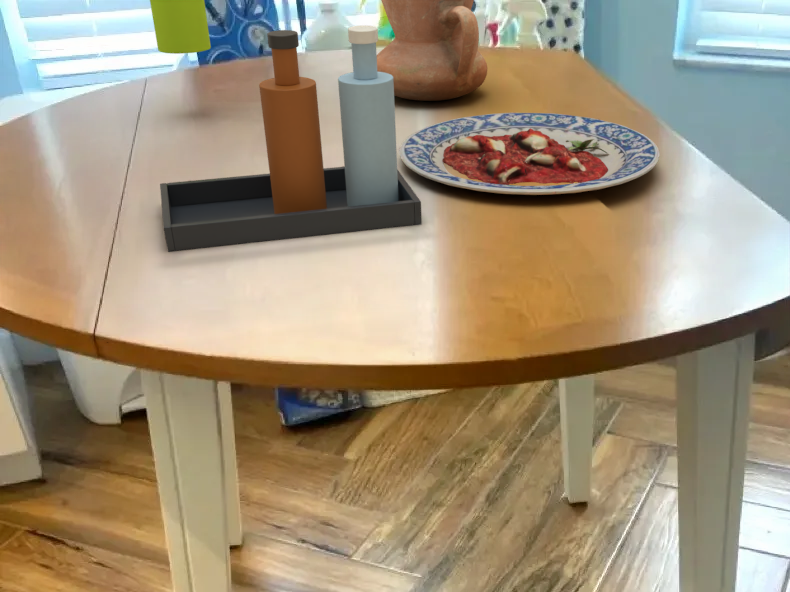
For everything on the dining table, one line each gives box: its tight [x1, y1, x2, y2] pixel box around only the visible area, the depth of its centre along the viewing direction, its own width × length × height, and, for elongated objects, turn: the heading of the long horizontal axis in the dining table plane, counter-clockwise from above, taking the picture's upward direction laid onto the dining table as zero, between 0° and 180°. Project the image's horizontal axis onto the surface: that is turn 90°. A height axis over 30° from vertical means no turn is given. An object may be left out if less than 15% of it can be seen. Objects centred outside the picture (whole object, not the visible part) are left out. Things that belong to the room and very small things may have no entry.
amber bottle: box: [258, 29, 327, 214], centre depth 80 cm, size 5×5×15 cm
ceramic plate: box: [398, 112, 661, 196], centre depth 96 cm, size 26×26×3 cm
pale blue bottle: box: [337, 24, 399, 206], centre depth 82 cm, size 5×5×15 cm
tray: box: [159, 166, 422, 253], centre depth 84 cm, size 21×11×3 cm, turn 106°
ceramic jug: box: [376, 0, 488, 102], centre depth 117 cm, size 18×14×14 cm
